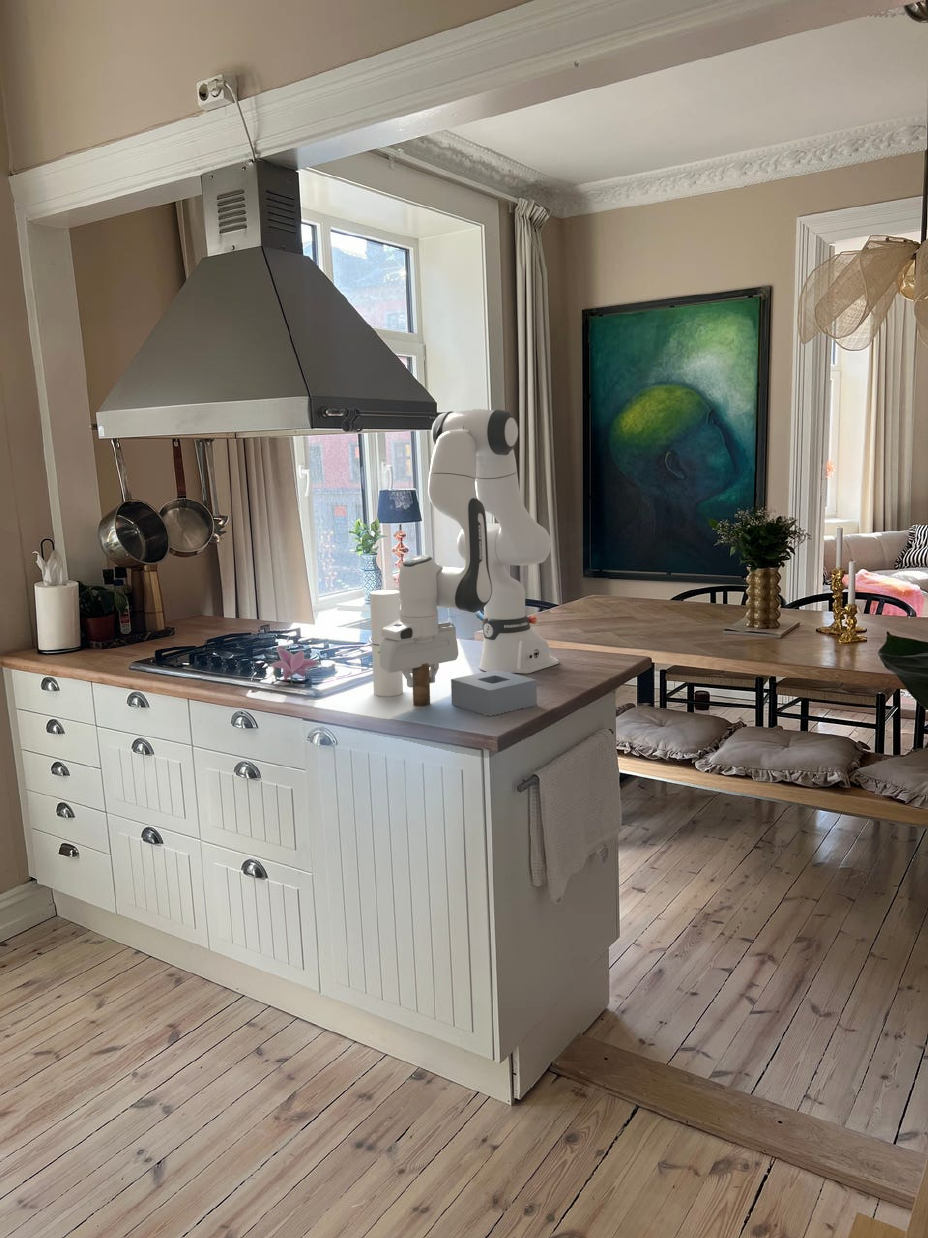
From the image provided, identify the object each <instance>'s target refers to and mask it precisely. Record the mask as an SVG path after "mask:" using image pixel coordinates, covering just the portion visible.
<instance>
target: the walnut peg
mask: <svg viewBox="0 0 928 1238" xmlns="http://www.w3.org/2000/svg"><path fill="white" fill-rule="evenodd" d="M429 671H430V667H429V665H428V663H426V664H422V666H421V667H418V668H413V669H412V673H411V676H412V678H413V679H416V686H415V687H412V704H413V706H416V707H426V706H430V705H431V685H430V684H431V683H430V675H429Z"/></svg>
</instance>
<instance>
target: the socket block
mask: <svg viewBox="0 0 928 1238" xmlns="http://www.w3.org/2000/svg"><path fill="white" fill-rule="evenodd" d="M450 687H451V688H450V690H451V692H450V693H451V695H450V696H451V705H453V706H456V707H459V708H461V709H462V708H463V709H465V708H466V709H465V710H468V709H469V710H468V711H471V710H473V711H472V712H474V711H476V712H475V713H477V712H479V713H478V714H480V713H483V714H486V715H489V716H491V717H493V716H492V715H495V716H497V715H496V714H499V715H502V714H501V713H503V714H505V713H504V712H507V713H509V712H508V711H511V712H514V711H513V710H515V711H518V710H517V709H519V710H522V709H521V708H523V709H526V708H530V707H535V706H537V705H538V703H537V702H538V700H537V698H538V697H537V696H538V695H537V694H538V693H537V692H538V691H537V690H538V689H537V687H538V685H537V679H535V678H531V677H527V676H525V675H524V676H523V675H520V674H517V673H509V672H505V671H501V670H492V671H483V672H478V673H474V674H470V675H465V676H460V677H455V678H451V679H450ZM483 714H482V715H483ZM486 715H485V716H486ZM489 716H488V717H489Z"/></svg>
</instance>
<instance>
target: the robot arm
mask: <svg viewBox="0 0 928 1238" xmlns="http://www.w3.org/2000/svg"><path fill="white" fill-rule="evenodd" d="M431 426H432V427H431V441H432V443H433V445H434V449H433V453H432V457H431V462H430V467H429V476H428V482H427V483H428V485H427V486H428V487H427V493H428V498H429V501H430V502H431V504H432V506H433V507H434V508H435V509H436V510H437V511H438V512H439V513H441V514H442V515H445V516H447V517H448V518H450V519H452V520H453V521H455V522H456V523H458V524H459V526H460V527H461V530H460V532H459V534H458V537H457V542H456V544H457V551H458V553H459V555H460V557H461V558H462V559H463V561H464V563H465V565H464V566H463V568H461V567H451V566H450V567H449V566H444V565H441V564H439V563H437V562H435V561H434V557H433V556H431V555H429V554H428V555H427V554H417V555H412V556H409V557H406V558H405V559H404V560H402V562H401V564H400V568H399V574H398V575H399V576H398V591H399V597H400V619H398V620H396V621H395V622H393V623H391V624H390V625H388V626H386V627H384V628H383V629H382V630H381V634H382V636H383V637H385V639H383V641H382V643H381V647H380V666H381V668H382V669H383V670H384V671H386V672H390V673H393V672H398V671H402V676H403V677H404V678H405V679H406V686H407V687H408V688H413V687H415V686H416V679H413V678H412V669H413V668H418V667H421V666H422V664H426V663H428V665H429V675H430V684H433V683H435V682H436V675H437V674H438V671H439V669H440V666H439V665H440V664H441V663H442V664H443V663H448V662H453V661H456V660H457V659H458V656H459V646H458V639H457V632H456V631H457V630H456V626H455V625H454V624H453V623H451V621H444V622H439V610H438V608H444V609H451V610H452V609H453V610H460V611H463V612H468V613H478V612H479V611H481V610H482V609H483V614H484V615H483V616H482V632H483V643H482V651H481V657H480V663H479V666H478V669H479V670H482V671H483V672H487V671H492V670H501V671H505V672H509V673H512V674H530V673H533V672H538V671H540V670H543V669H546V668H549V667H552V666H555V665H558V664H559V659H557V658H556V657H553V656H552V655H551V650H550V645H549V643H548V641H547V640H546V639H545V638H544V637H542V636H541V635H539V634H538V633H537V632H535V630H533V629H532V628H531V624H533V625H536V624H537V623H538V617H537V616H533V615H530V616H527V615H526V591H525V590H526V589H525V587H524V586H523V584H522V583H521V582H520V581H519V580H517V579H515V578H514V577H512V576H511V575H510V574H509V572H508V571H507V569H506V566H522V567H523V566H525V567H526V566H532V565H537V564H542V563H544V562H545V561H546V560H547V558H548V557H549V554H550V553H551V548H552V540H551V536H550V534H549V532H548V530H547V529H546V528H545V527H543V526H542V525H540V524H539V523H538V522H537V521H535V519H534V518H533V517H532V516H531V514H529V512H528V510H527V509H526V507H525V505H524V502H523V499H522V496H521V491H520V484H519V476H518V468H517V462H516V461H517V459H516V455H515V451H514V448H515V447H516V444H517V443H518V439H519V424H518V421H517V419H516V417H515V416H514V415H513V414H512V412H510V411H507V410H503V409H495V410H493V409H485V408H483V409H481V408H478V409H477V408H474V409H470V410H468V409H467V410H459V411H453V410H452V411H448V412H447V411H446V412H442V413H440V414H439V415H437V416H436V418H435V420H434V422H433V423H432V425H431ZM487 513H488V514H490V515H492V517H494V518H495V520H496V521H497V522H498V523H495V522H494V523H493V522H492V523H490V522H489V523H487V516H486V514H487Z"/></svg>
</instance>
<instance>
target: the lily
mask: <svg viewBox="0 0 928 1238" xmlns="http://www.w3.org/2000/svg"><path fill="white" fill-rule="evenodd" d="M276 651H277V654H278V657H279V659H280V660H279V661H278V660H277V661H274V662H272V663H270V664H269V666H270V667H274V668H278V669H282V674H283V678H284V679H285V678H288V679H290V686H291V685H292V686H293V676H295V675H297V676H298V675H299V676H301V677H302V678H304V676H305V673H306V672H308V669H311V668H314V667H318V666H320V665H321V664H322V663H321V662H320V661H317V660H316V659H315V660H314V659H311V658H305V652H304V650H298V652H295V653H292V652H291V651H289V650H287V649H284V648H282V647H278V646H277V647H276Z"/></svg>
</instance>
